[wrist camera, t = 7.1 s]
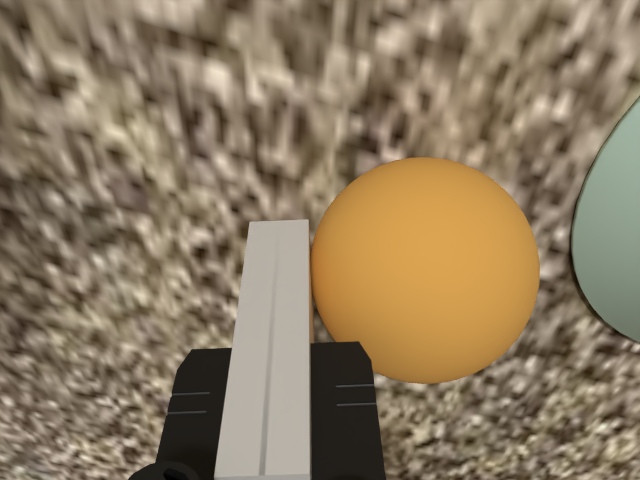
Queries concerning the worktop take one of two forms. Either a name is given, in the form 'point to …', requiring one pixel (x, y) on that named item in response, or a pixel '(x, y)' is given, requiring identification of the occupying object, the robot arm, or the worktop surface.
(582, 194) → the smooth pale green disc
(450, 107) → the worktop surface
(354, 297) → the ball
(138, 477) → the robot arm
